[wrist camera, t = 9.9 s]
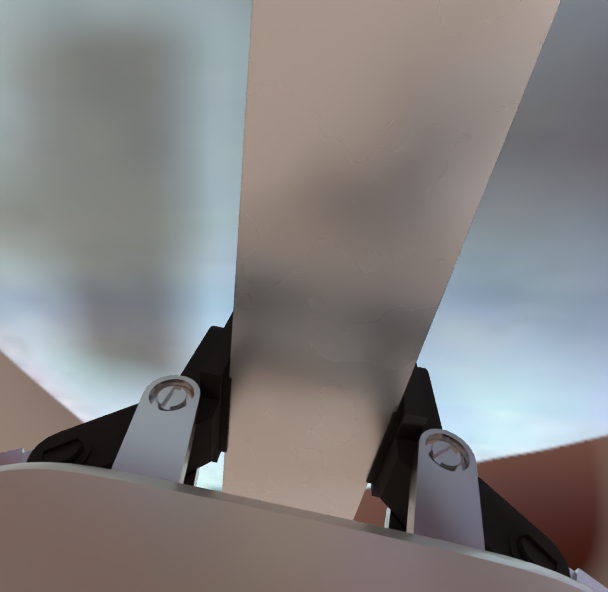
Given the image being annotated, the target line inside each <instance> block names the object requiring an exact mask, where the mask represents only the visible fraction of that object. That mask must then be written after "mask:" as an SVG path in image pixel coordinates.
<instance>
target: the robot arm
mask: <svg viewBox="0 0 608 592" xmlns="http://www.w3.org/2000/svg"><path fill="white" fill-rule="evenodd" d="M232 325H233V312H232V314H231V316H230V318H229V320H228V321H227V323H226V325H225V327H224V328H222V327H217V326H211V327H210V328H209V330H208V332H207V333H206V335H205V336H204V338H203V340H202V341H201V343H200V345H199V346H198V348H197V349H196V351H195V353H194V354H193V356H192V358H191V359H190V361H189V362H188V364H187V366H186V367H185V369H184V371H183V372H182V374H181V375H170V376H166V377H162V378H159V379H157V380H155V381H153V382H152V383H151V384H150V385H149V386H147V388H146V389H145V391H144V392H143V395H142V397H141V399H140V402H139V403H138V404H135V405H133V406H130V407H127V408H124V409H122V410H119V411H116V412H113V413H111V414H108V415H105V416H102V417H100V418H97V419H94V420H91V421H89V422H86V423H83V424H80V425H78V426H75V427H73V428H70V429H67V430H64V431H61V432H58V433H56V434H54V435H52V436H50V437H48V438H46V439H45V440H44V441H42V442H41V443H40V444H38V445H37V447H35V449H34V450H32V451H27V452H24V450H23V448H20V449H16V450H11V451H7V452H3V453H0V592H608V589H607V588H606V587H604V586H603V585H601V584H600V583H599V582H597V581H596V580H594V579H593V578H592V577H590V576H589V575H587V574H586V573H585V572H583V571H582V570H580V569H579V568H578V569H577V570H576V571H575V572H574V571H573V570H572V569H570V568H569V567H568V565H567V563H566V561H565V558H564V557H563V555H562V554H561V552H560V551H559V550H558V548H557V547H556V546H555V545H554V544H553V543H552V541H550V539H548V537H547V536H545V535H544V534H543V533H542V532H541V531H540V530H538V529H537V528H536V527H535V526H534V525H533V524H532V523H530V522H529V521H528V520H527V519H526V518H525V517H524V516H523V515H521V514H520V513H519V512H518V511H517V510H516V509H515V508H513V507H512V506H511V505H510V504H509V503H508V502H507V501H505V500H504V499H503V498H502V497H501V496H500V495H499V494H497V493H496V492H495V491H494V490H493V489H492V488H491V487H490V486H488V485H487V484H486V483H485V482H484V481H483V480H482V479H480V478H479V477H478V475H477V465H476V460H475V456H474V454H473V452H472V450H471V449H470V447H469V446H468V445H467V444H466V443H465V442H464V441H463V440H462V439H461V438H459V437H458V436H457V435H455V434H453V433H451V432H449V431H446V430H442V426H441V422H440V418H439V414H438V410H437V406H436V402H435V398H434V394H433V389H432V385H431V381H430V377H429V373H428V371H427V369H426V368H421V367H417V363H416V364H415V366H414V369H413V371H412V374H411V376H410V379H409V381H408V384H407V386H406V389H405V391H404V394H403V396H402V399H401V401H400V404H399V406H398V409H397V411H396V412H393V415H392V417H391V420H390V422H389V425H388V427H387V430H386V432H385V435H384V437H383V440H382V442H381V445H380V448H379V450H378V453H377V455H376V458H375V460H374V463H373V465H372V468H371V470H370V473H369V475H368V478H367V480H366V482H367V483H371V491H372V496H375V497H380V499H381V500H382V501H383V502H384V503H385V504H386V505H387V506H388V508H387V512H386V520H385V527H380V526H375V525H371V524H366V523H362V522H358V521H353V520H349V519H344V518H340V517H335V516H330V515H326V514H321V513H317V512H312V511H307V510H303V509H298V508H294V507H289V506H284V505H280V504H275V503H270V502H266V501H261V500H256V499H252V498H247V497H242V496H238V495H233V494H228V493H224V492H219V491H214V490H209V489H205V488H200V487H196V484H197V479H198V474H199V467H201V466H203V465H205V464H207V463H209V462H211V461H212V462H216V463H217V461H218V458H219V455H220V453H221V452H227V441H228V426H229V411H230V396H231V381H232V378H229V374H230V357H231V341H232Z"/></svg>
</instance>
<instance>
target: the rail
mask: <svg viewBox="0 0 608 592" xmlns="http://www.w3.org/2000/svg"><path fill="white" fill-rule="evenodd" d="M560 2H561V0H253V1H252V17H251V33H250V50H249V66H248V82H247V98H246V114H245V131H244V147H243V163H242V179H241V195H240V212H239V228H238V244H237V260H236V276H235V293H234V309H233V325H232V341H231V357H230V374H229V378H232V381H231V396H230V411H229V426H228V441H227V452H225V455H224V471H223V487H222V492H224V493H228V494H233V495H238V496H242V497H247V498H252V499H256V500H261V501H266V502H270V503H275V504H280V505H284V506H289V507H294V508H298V509H303V510H307V511H312V512H317V513H321V514H326V515H330V516H335V517H340V518H344V519H349V520H353V518H354V516H355V514H356V511H357V509H358V506H359V504H360V501H361V498H362V496H363V494H364V491H365V489H366V486H367V484H368V483H367V482H366V480H367V478H368V475H369V473H370V470H371V468H372V465H373V463H374V460H375V458H376V455H377V453H378V450H379V448H380V445H381V442H382V440H383V437H384V435H385V432H386V430H387V427H388V425H389V422H390V420H391V417H392V415H393V412H396V411H397V409H398V406H399V404H400V401H401V399H402V396H403V394H404V391H405V389H406V386H407V384H408V381H409V379H410V376H411V374H412V371H413V369H414V366H415V364H416V361H417V359H418V356H419V354H420V351H421V349H422V346H423V344H424V341H425V339H426V336H427V334H428V331H429V329H430V326H431V324H432V321H433V319H434V316H435V314H436V311H437V309H438V306H439V304H440V301H441V299H442V296H443V294H444V291H445V289H446V286H447V284H448V281H449V279H450V276H451V274H452V271H453V269H454V266H455V264H456V261H457V259H458V256H459V254H460V251H461V249H462V246H463V244H464V241H465V239H466V236H467V234H468V231H469V229H470V226H471V224H472V221H473V219H474V216H475V214H476V211H477V209H478V206H479V204H480V201H481V199H482V196H483V194H484V191H485V189H486V186H487V184H488V181H489V179H490V176H491V174H492V171H493V169H494V166H495V164H496V161H497V159H498V156H499V154H500V151H501V149H502V146H503V144H504V141H505V139H506V136H507V134H508V131H509V129H510V126H511V124H512V121H513V119H514V116H515V114H516V111H517V109H518V106H519V104H520V101H521V99H522V96H523V94H524V91H525V89H526V86H527V84H528V81H529V79H530V76H531V74H532V71H533V69H534V66H535V64H536V61H537V59H538V56H539V54H540V51H541V49H542V46H543V44H544V41H545V39H546V36H547V34H548V31H549V29H550V26H551V24H552V21H553V19H554V17H555V14H556V12H557V9H558V7H559V4H560Z"/></svg>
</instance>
